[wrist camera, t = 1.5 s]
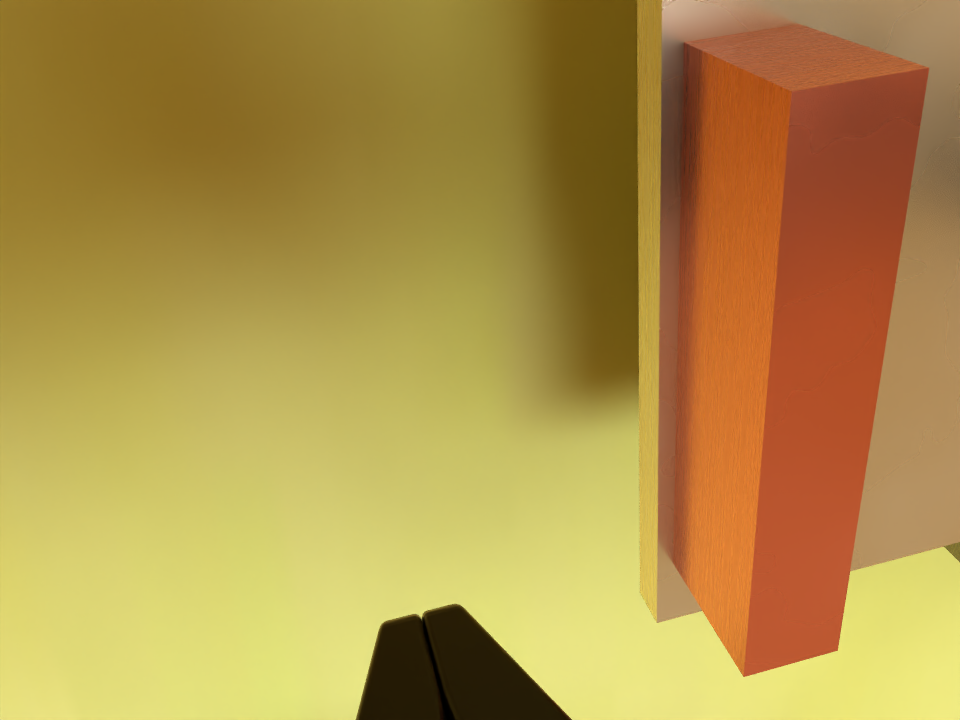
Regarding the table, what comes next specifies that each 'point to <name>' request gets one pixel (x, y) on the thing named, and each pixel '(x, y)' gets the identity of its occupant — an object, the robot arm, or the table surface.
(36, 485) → the table surface
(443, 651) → the robot arm
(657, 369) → the lid
